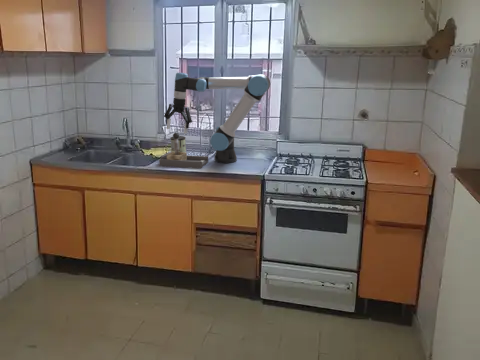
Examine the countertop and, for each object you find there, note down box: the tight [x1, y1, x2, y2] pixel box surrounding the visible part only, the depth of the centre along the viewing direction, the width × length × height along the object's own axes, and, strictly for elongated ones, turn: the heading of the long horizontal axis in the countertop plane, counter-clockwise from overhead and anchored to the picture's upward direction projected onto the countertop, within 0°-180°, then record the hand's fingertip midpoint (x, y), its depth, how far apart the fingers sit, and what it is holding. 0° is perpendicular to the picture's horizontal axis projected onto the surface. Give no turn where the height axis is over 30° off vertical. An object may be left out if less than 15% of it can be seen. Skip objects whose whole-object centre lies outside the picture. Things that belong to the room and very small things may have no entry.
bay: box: [158, 152, 209, 169], centre depth 292 cm, size 28×16×6 cm, turn 78°
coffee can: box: [169, 135, 187, 153], centre depth 309 cm, size 10×10×14 cm
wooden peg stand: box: [167, 132, 188, 160], centre depth 291 cm, size 10×10×19 cm
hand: (176, 131), depth 288 cm, fingers open, 13 cm apart
